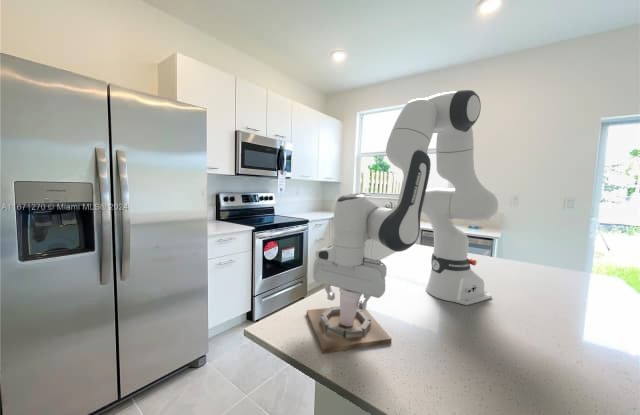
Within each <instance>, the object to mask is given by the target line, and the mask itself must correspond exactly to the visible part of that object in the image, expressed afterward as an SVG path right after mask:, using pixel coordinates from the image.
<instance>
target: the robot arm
mask: <svg viewBox="0 0 640 415" xmlns="http://www.w3.org/2000/svg"><path fill="white" fill-rule="evenodd" d="M481 104H482V103H481V100H480V96H479V95H478V94H477V93H476V92H475V91H474V90H470V89H460V90H458V91H449V92H442V93H437V94H435V95H431V96H429V97H425V98H416V99H415V98H414V99H412V100H410V101H408V102H406V103H405V105H404V106H403V108H402V110H401V111H400V113H399V114H398V117H397V119H396V120H395V122H394V125H393V127H392V129H391V132H390V134H389V137H388V140H387V143H386V147H385V154H386V157H387V159H388V161H389V162H390V163H391V164H392V165H394V166H395V167H396V168H397V169H400V170H401V171H402V174H403V180H402V185H401V189H400V191H399V195H398V199H397V203H396V205H395V206H394V207H393V208H389V207H388V208H387V207H384V206H380V205H378V204H376V203H374V202H372V201H371V200H369V199H368V198H367V197H366V195H364V194H361V193H349V194H345V195H342V196H340V197H338V199H336V202H335V205H334V210H333V219H332V220H333V223H332V228H333V233H334V234H333V239H332V245H328V246H324V247H321V248H320V249H318V250H316V251H315V258H316V259H314V262H313V267H312V279H313V280H314V282H315V283H320V284H323V288H324V290H325V292H326V294H327V297H326V299H327V300H329V301H334V300H335V299H336V298H335V297H336V296H335V295H336V292H333V289H332V287H335V288H339V289H340V288H342V289H346V290H350V291H353V292H357V293H361V294H362V295H363V299H360V301H359V309H363V310H365V309H366V310H367V305H368V304H367V302H368V301H369V300H370V298H371V297H372V298H373V297H374V298H377V299H379V298H380V299H381V297H382V296H384V295H385V292H386V276H387V266H386V264H385V263H383V262H382V260H379V259H373V258H369V257H366V249H367V248H366V243H367V241H368V240H370V241H371V240H372V241H373V242H375V243H378V244H380V245H383V246H385V247H386V248H388V249H389V250H391V251H393V252H396V253H397V252H403V251H406V250H408V249H410V248H411V247H412V246H413V245H414V244H415V243H416V242H417V240H418V239H419V236H420V231H421V216H422V215H423V216H424V217H425V218H426V219H427V220H428V221H429V224H430V225H431V228H432V232H433V253H432V254H431V270H430V274H429V278H428V281H427V284H426V287H425V292H426V293H427V294H429V295H431V296H433V297H434V298H437V299H440V300H442V301H443V300H444V301H447V302H452V303H457V304H461V305H465V306H469V305H472V304H476V303H479V302H484V301H486V300H490V299H492V294H491V293H490V292H488V291H487V290H485V281H484V279H483V278H482V277H481V276H480V275H479V274H478V273H476V272H475V271H474V270H473V269H472V268H471V266H476V265H477V264H478V260H476V259H473V258H468V252H469V245H470V244H469V243H470V240H469V237H468V235H467V234H466V233H465V232H464V231H463V230H461V229H460V228H458V227H456V226H455V225H454V222H453V220H459V221H460V220H462V221H468V222H469V221H470V222H482V221H483V222H484V221H489V220H491V219H492V218H494V217H495V215H496V214H497V213H498V210H499V201H498V198H497V196H496V195H495V194H494V192H492V191H491V190H488V189H487V188H486V187H485V186H484V185H483V184H482V183H481V182H480V181H479V179H478V177H477V174H476V171H475V163H474V133H473V126H474V125H475V123H476V122H477V121H478V119H479V117H480V113H481V107H482V105H481ZM433 134H437V135H436V142H435V143H436V144H435V145H436V146H435V150H436V152H435V154H436V156H435V158H436V160H435V161H436V172H437V174H438V175H439V177H440V178H442V179H444V180H446V181H448V182H450V183H451V185H452V186H453V187H452V188H451V187H450V188H448V187H432V188H428V187H427V186H428V183H429V180H430V179H429V178H430V173H431V165H432V164H431V158H430V156H429V155H428V152H429V151H428V150H429V148H430V147H429V146H430V143H431V140H432V138H433Z"/></svg>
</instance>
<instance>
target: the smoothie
mask: <svg viewBox="0 0 640 415" xmlns="http://www.w3.org/2000/svg"><path fill="white" fill-rule="evenodd" d="M338 290H339V293H340V294H339V296H340V297H339V306H340V323H341V324H342V325H344V326H352V325H353V323H354V319H355V316H356V312H357V308H358V305H359V302H361V297H362V296H363V294H361V293H357V292H353V291H350V290H346V289H342V288H339V289H338Z"/></svg>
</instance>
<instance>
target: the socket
mask: <svg viewBox="0 0 640 415" xmlns="http://www.w3.org/2000/svg"><path fill="white" fill-rule="evenodd" d="M371 314H372V313H370V312H369V311H368V310H367V308H366V309H365V310H363V309H359V305H358V308H357V312H356V316H355V319H354V323H353V325H352V326H344V325H342V324H341V323H340V305H339V306H330V307H326V308H325V307H324V308H316V309H315V308H313V309H307V310H306V316H307V318H308V321H309V323H310V325H311V329H312V331H313V334H314V336H315V338H316V340H317V343H318V345H319V348H320V350H321V353H322V354H327V353H333V352H334V353H335V352H340V351H347V350H353V349H361V348H368V347H374V346H380V345H381V346H382V345H388V344H392V339H393V338H392V337H391V336H390V335H389V334H388V333H387V331H386V330H385V329H384V328H383V327H382V326H381V325H380V323H379V322H378V321H377V320H376V319H375V317H373V315H371Z"/></svg>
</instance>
